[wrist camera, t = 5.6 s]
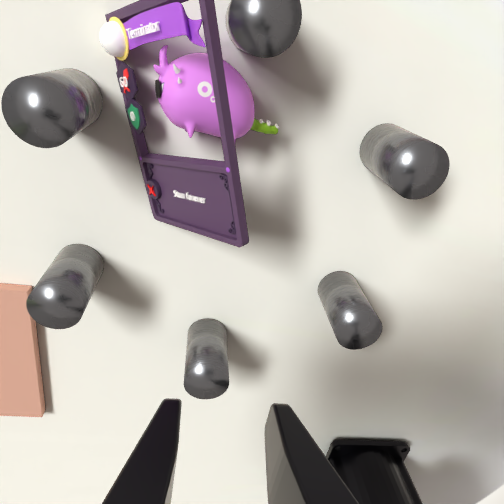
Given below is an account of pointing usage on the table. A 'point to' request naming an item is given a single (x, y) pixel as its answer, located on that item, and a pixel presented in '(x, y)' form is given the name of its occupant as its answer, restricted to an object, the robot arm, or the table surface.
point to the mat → (19, 355)
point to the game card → (187, 117)
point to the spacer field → (91, 263)
